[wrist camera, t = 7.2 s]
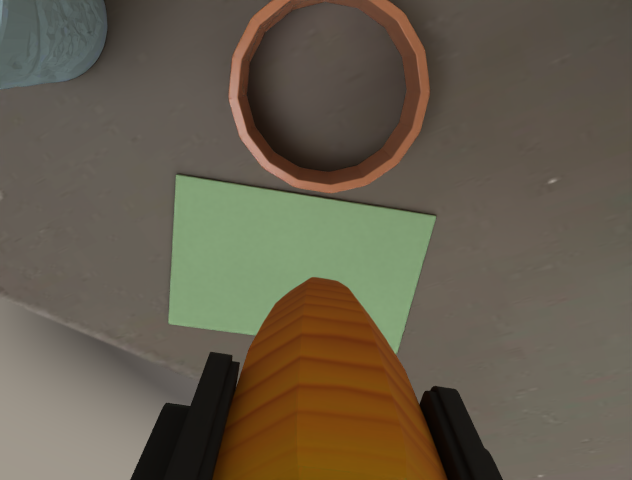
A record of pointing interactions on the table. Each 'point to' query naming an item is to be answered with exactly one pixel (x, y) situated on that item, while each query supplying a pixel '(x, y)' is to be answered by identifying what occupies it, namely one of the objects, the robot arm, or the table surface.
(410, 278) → the napkin
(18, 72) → the drinking glass
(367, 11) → the pan
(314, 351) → the carrot
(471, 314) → the table surface
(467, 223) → the table surface
